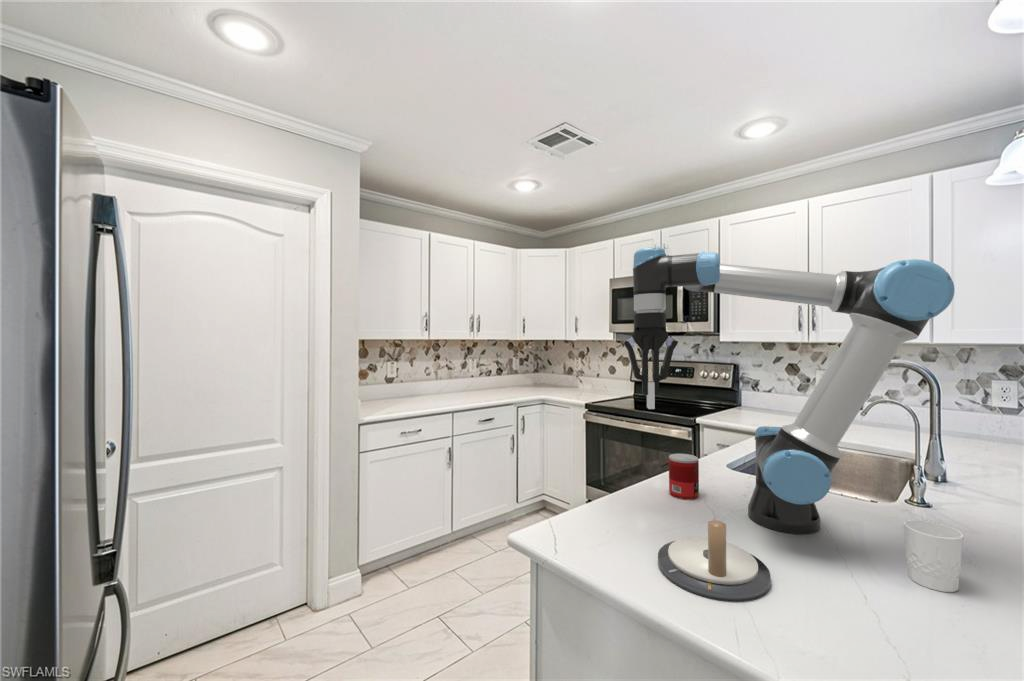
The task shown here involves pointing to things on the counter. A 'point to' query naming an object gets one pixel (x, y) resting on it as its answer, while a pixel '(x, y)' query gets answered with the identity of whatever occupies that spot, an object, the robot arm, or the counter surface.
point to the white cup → (933, 554)
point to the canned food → (684, 476)
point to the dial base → (713, 590)
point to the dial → (713, 558)
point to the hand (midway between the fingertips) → (650, 407)
